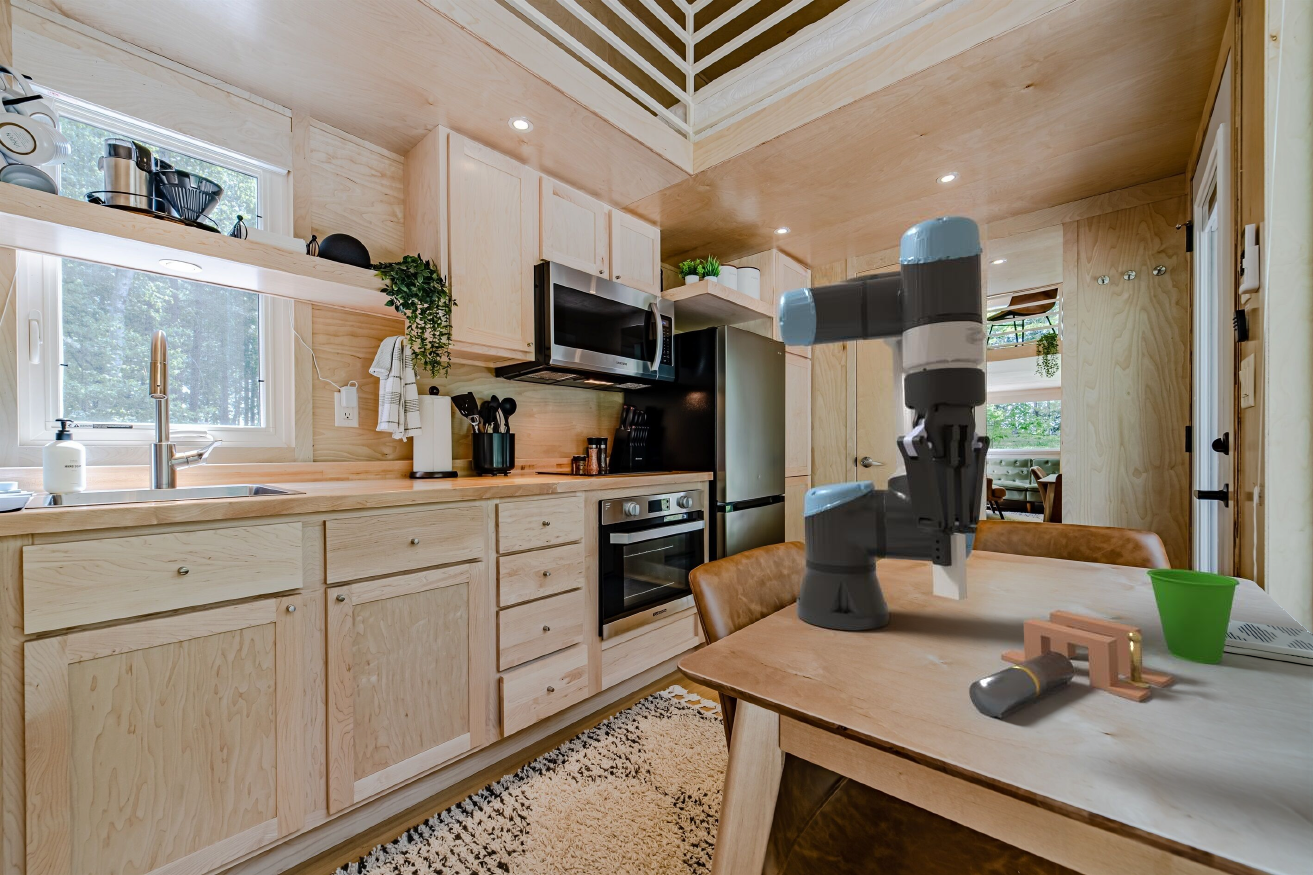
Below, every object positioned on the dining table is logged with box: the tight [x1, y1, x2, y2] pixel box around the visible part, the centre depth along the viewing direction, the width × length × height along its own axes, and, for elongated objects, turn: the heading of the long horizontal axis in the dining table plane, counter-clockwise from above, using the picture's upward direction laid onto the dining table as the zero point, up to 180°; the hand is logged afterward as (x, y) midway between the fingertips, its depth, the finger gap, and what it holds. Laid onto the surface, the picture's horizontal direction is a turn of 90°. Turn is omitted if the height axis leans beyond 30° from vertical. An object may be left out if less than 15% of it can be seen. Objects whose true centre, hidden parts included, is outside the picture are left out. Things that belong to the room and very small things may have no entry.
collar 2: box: [1049, 609, 1174, 688], centre depth 72 cm, size 15×3×6 cm, turn 30°
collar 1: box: [1000, 618, 1151, 703], centre depth 68 cm, size 15×3×6 cm, turn 30°
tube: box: [968, 651, 1075, 720], centre depth 63 cm, size 16×4×4 cm, turn 120°
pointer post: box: [1122, 631, 1151, 690], centre depth 65 cm, size 2×2×6 cm
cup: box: [1146, 568, 1240, 665], centre depth 73 cm, size 9×9×11 cm
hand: (950, 595), depth 56 cm, fingers closed
